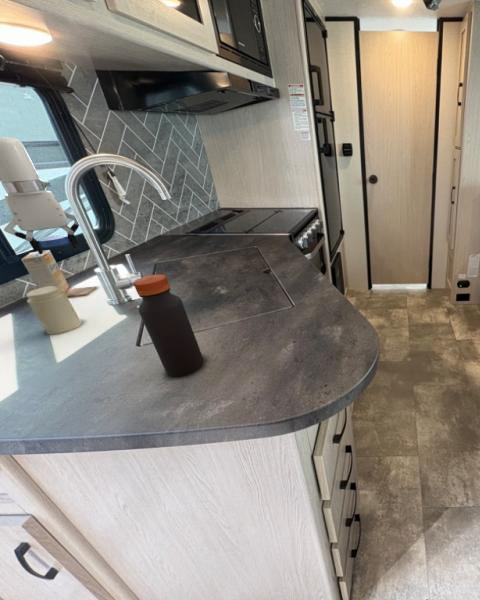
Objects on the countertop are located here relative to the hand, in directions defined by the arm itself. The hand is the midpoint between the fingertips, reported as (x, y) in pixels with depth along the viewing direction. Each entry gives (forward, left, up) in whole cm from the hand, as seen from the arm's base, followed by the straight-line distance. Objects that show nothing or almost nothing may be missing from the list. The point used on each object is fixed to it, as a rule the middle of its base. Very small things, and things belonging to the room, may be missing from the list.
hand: (58, 249), depth 94 cm
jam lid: (0, 0, +3) cm, 3 cm away
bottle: (+45, -53, -15) cm, 71 cm away
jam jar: (+9, -25, -14) cm, 30 cm away
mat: (0, 0, -14) cm, 14 cm away
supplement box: (-8, +2, -15) cm, 17 cm away
